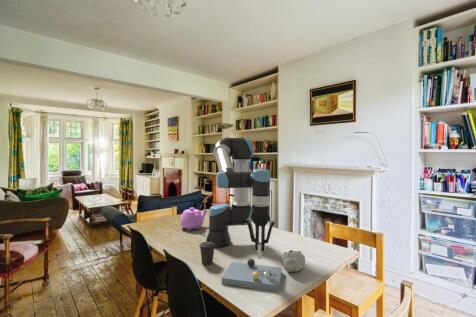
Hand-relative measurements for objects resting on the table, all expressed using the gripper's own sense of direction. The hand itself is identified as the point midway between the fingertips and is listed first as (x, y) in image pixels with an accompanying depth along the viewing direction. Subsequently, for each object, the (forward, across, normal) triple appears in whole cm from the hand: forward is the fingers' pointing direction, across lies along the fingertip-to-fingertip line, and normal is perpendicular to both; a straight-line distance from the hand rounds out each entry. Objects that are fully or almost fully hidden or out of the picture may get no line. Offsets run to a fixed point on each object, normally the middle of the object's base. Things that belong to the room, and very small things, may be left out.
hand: (259, 257), depth 107 cm
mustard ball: (+5, -1, -6) cm, 8 cm away
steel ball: (+7, +3, -1) cm, 8 cm away
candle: (+10, +14, +13) cm, 22 cm away
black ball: (+5, -5, +5) cm, 8 cm away
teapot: (+11, -57, +59) cm, 83 cm away
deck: (+9, -3, -1) cm, 10 cm away
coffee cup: (+10, -28, +8) cm, 31 cm away
